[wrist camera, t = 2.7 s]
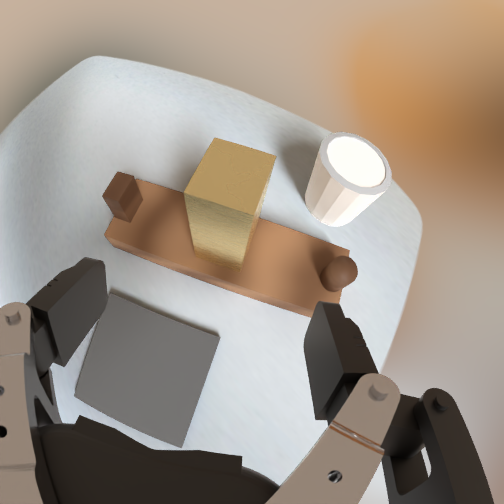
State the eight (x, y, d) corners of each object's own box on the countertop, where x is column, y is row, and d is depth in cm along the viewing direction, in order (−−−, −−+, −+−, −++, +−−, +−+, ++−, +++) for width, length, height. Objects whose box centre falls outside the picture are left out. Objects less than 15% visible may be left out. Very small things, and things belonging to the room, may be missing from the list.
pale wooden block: (195, 256, 22) (183, 192, 13) (214, 214, 23) (214, 137, 15) (239, 272, 22) (253, 215, 13) (255, 228, 23) (276, 155, 15)
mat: (77, 395, 18) (74, 396, 18) (112, 294, 22) (110, 292, 22) (182, 445, 18) (181, 448, 18) (220, 337, 22) (220, 337, 21)
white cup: (286, 208, 27) (306, 163, 21) (314, 164, 30) (335, 120, 23) (347, 244, 26) (382, 210, 20) (367, 196, 29) (398, 158, 22)
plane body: (113, 246, 24) (88, 215, 18) (141, 193, 26) (127, 154, 20) (325, 322, 23) (356, 309, 18) (339, 260, 26) (369, 233, 20)
